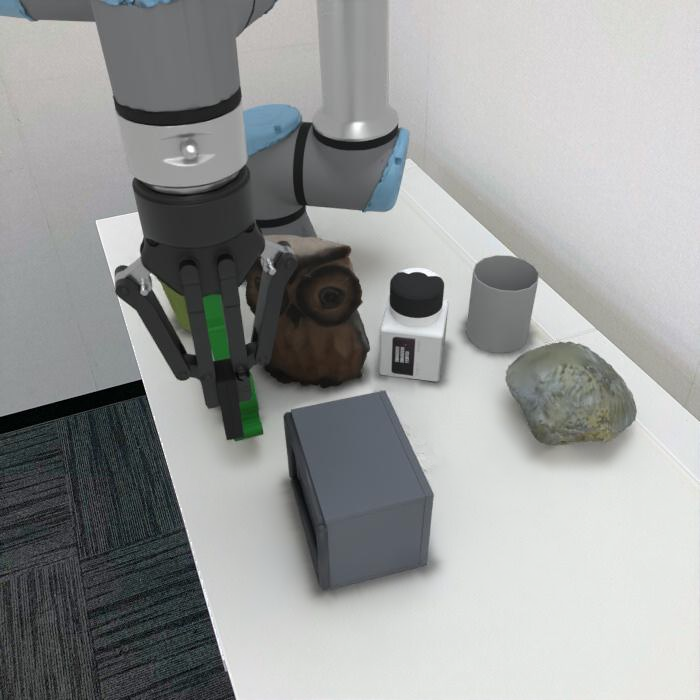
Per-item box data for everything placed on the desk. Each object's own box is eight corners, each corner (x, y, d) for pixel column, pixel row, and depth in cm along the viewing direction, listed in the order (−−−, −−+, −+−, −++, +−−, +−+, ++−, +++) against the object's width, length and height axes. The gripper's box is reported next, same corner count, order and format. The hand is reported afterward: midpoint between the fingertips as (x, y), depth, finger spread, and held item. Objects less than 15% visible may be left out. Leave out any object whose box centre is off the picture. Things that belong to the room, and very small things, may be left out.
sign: (266, 456, 80) (258, 392, 74) (239, 463, 80) (228, 400, 73) (220, 323, 100) (210, 263, 93) (197, 328, 99) (186, 268, 92)
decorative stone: (557, 387, 94) (622, 345, 88) (592, 485, 83) (667, 445, 78) (488, 345, 86) (554, 296, 81) (517, 446, 76) (594, 399, 71)
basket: (428, 569, 69) (436, 498, 62) (321, 597, 67) (316, 527, 60) (382, 457, 80) (383, 386, 73) (289, 478, 78) (281, 407, 71)
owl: (373, 380, 90) (375, 245, 77) (283, 413, 86) (268, 276, 73) (329, 326, 99) (324, 197, 86) (245, 354, 94) (226, 222, 81)
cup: (540, 338, 96) (553, 277, 90) (495, 361, 93) (505, 299, 86) (497, 308, 102) (506, 248, 95) (453, 328, 98) (460, 268, 92)
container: (438, 383, 90) (446, 300, 81) (378, 375, 91) (380, 293, 82) (444, 345, 95) (452, 264, 87) (388, 338, 97) (390, 257, 88)
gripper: (83, 210, 41) (158, 476, 56) (302, 181, 44) (317, 443, 59) (85, 157, 47) (152, 412, 62) (279, 134, 49) (298, 384, 64)
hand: (233, 427), depth 60 cm, fingers closed
